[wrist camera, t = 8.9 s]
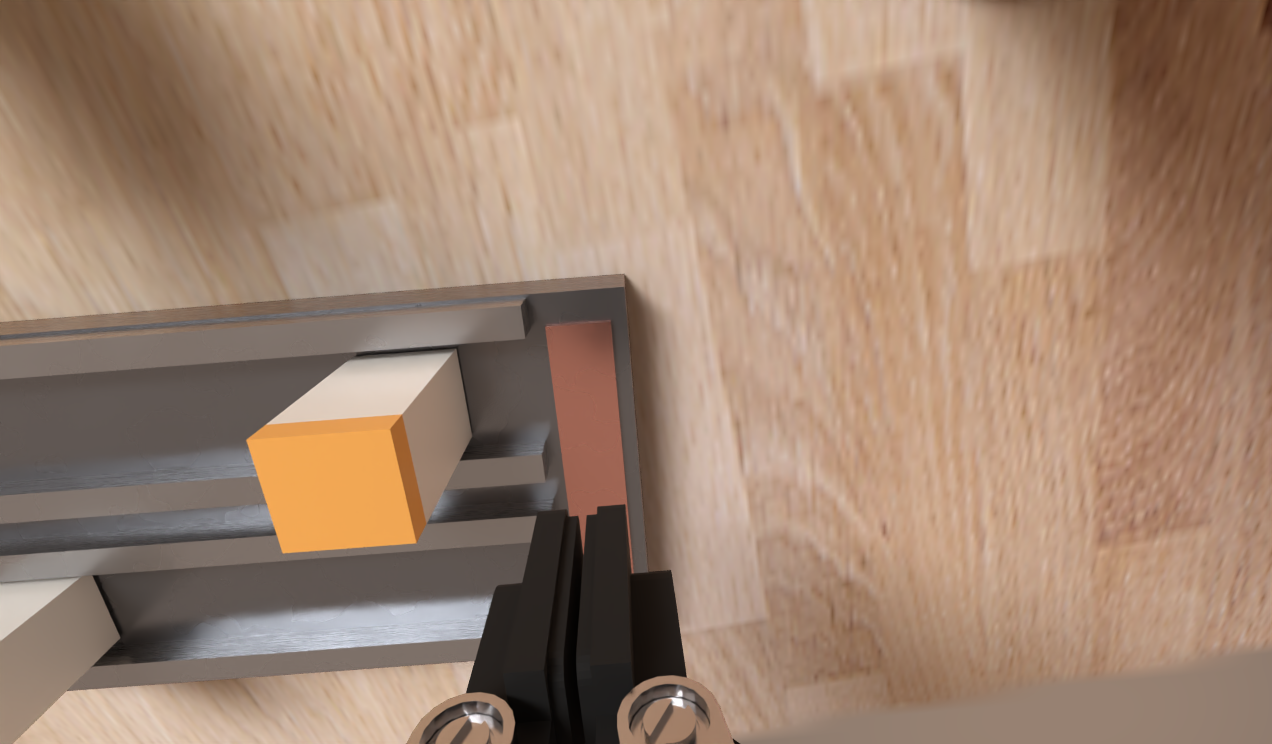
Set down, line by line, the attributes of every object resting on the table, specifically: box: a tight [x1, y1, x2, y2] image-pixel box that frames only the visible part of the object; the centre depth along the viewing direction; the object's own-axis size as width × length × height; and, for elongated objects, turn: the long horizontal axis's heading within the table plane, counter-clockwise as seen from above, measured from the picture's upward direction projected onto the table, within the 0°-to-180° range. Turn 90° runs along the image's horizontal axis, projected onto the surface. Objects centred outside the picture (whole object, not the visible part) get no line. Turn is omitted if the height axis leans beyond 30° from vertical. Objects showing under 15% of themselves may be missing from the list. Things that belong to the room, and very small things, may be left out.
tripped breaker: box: [246, 349, 472, 553], centre depth 17 cm, size 3×3×6 cm
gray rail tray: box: [0, 274, 649, 691], centre depth 21 cm, size 28×13×3 cm, turn 94°
